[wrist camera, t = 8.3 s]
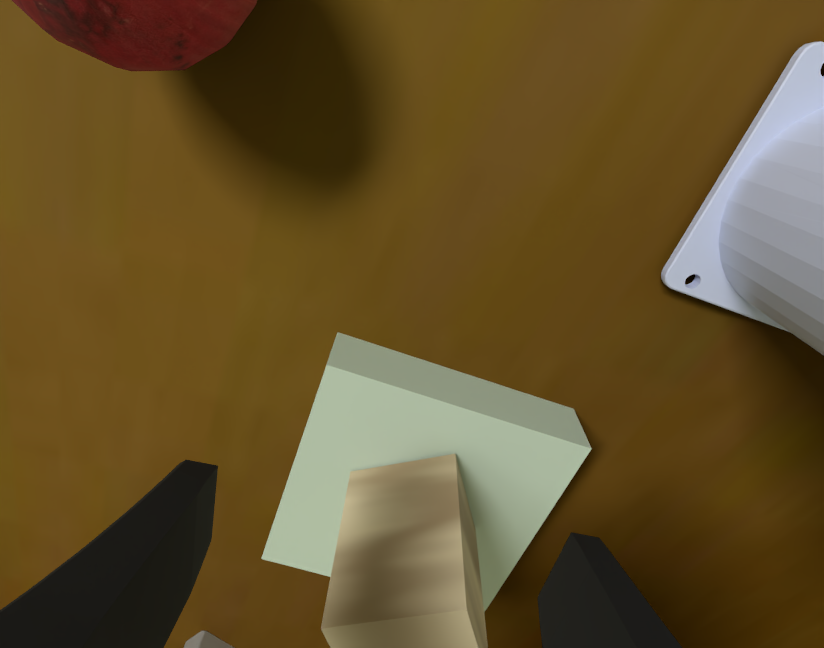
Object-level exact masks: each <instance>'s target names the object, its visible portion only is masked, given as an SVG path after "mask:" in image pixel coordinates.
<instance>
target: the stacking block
mask: <svg viewBox="0 0 824 648" xmlns="http://www.w3.org/2000/svg"><path fill="white" fill-rule="evenodd" d="M591 449H592V448H591V446H590V444H589V442H588V439H587V437H586V435H585V433H584V431H583V428H582V426H581V424H580V422H579V420H578V417H577V415H576V413H575V411H574V409H572V408H569V407H566V406H563V405H560V404H557V403H554V402H551V401H547V400H544V399H541V398H538V397H535V396H532V395H529V394H526V393H523V392H520V391H517V390H514V389H511V388H508V387H504V386H501V385H498V384H495V383H492V382H489V381H486V380H483V379H480V378H477V377H474V376H471V375H468V374H465V373H461V372H458V371H455V370H452V369H449V368H446V367H443V366H440V365H437V364H434V363H431V362H428V361H425V360H422V359H418V358H415V357H412V356H409V355H406V354H403V353H400V352H397V351H394V350H391V349H388V348H385V347H382V346H379V345H375V344H372V343H369V342H366V341H363V340H360V339H357V338H354V337H351V336H348V335H345V334H342V333H339V332H337V335H336V338H335V341H334V344H333V347H332V350H331V353H330V356H329V359H328V362H327V365H326V368H325V371H324V374H323V377H322V380H321V383H320V386H319V389H318V392H317V395H316V398H315V401H314V404H313V407H312V410H311V412H310V415H309V418H308V421H307V424H306V427H305V430H304V433H303V436H302V439H301V442H300V445H299V448H298V451H297V454H296V457H295V460H294V463H293V466H292V469H291V472H290V475H289V478H288V481H287V484H286V487H285V490H284V493H283V495H282V498H281V501H280V504H279V507H278V510H277V513H276V516H275V519H274V522H273V525H272V528H271V531H270V534H269V537H268V540H267V543H266V546H265V549H264V552H263V555H262V558H261V559H264V560H268V561H272V562H276V563H279V564H283V565H287V566H291V567H295V568H299V569H303V570H306V571H310V572H314V573H318V574H322V575H326V576H329V577H331V572H332V567H333V562H334V556H335V551H336V546H337V540H338V535H339V530H340V524H341V519H342V514H343V508H344V503H345V498H346V492H347V487H348V482H349V476H350V472H351V471H357V470H363V469H368V468H374V467H380V466H386V465H392V464H398V463H403V462H409V461H415V460H421V459H427V458H433V457H439V456H444V455H450V454H456V458H457V462H458V465H459V469H460V473H461V477H462V481H463V484H464V488H465V492H466V496H467V499H468V503H469V507H470V511H471V515H472V518H473V522H474V526H475V530H476V539H477V548H478V558H479V568H480V577H481V587H482V597H483V606H484V612H485V611H486V609H487V608H488V606H489V605H490V603H491V602H492V600H493V599H494V597H495V595H496V594H497V592H498V591H499V589H500V588H501V586H502V585H503V583H504V582H505V580H506V579H507V577H508V576H509V574H510V573H511V571H512V570H513V568H514V566H515V565H516V563H517V562H518V560H519V559H520V557H521V556H522V554H523V553H524V551H525V550H526V548H527V547H528V545H529V544H530V542H531V541H532V539H533V538H534V536H535V534H536V533H537V531H538V530H539V528H540V527H541V525H542V524H543V522H544V521H545V519H546V518H547V516H548V515H549V513H550V512H551V510H552V509H553V507H554V505H555V504H556V502H557V501H558V499H559V498H560V496H561V495H562V493H563V492H564V490H565V489H566V487H567V486H568V484H569V483H570V481H571V480H572V478H573V477H574V475H575V473H576V472H577V470H578V469H579V467H580V466H581V464H582V463H583V461H584V460H585V458H586V457H587V455H588V454H589V452H590V451H591Z"/></svg>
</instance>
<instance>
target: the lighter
mask: <svg viewBox="0 0 824 648" xmlns="http://www.w3.org/2000/svg"><path fill="white" fill-rule="evenodd" d="M184 648H234V647H232V646H230V645H229V644H227V643H225V642H224V641H222V640H220V639H219V638H217V637H215V636H214V635H212V634H210V633H209V632H207V631H201V632H199V633H198V634H196V635H195V636H194V637H192V638H191V639H189V640H188V641H186V643H185V646H184Z"/></svg>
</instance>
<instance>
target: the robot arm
mask: <svg viewBox="0 0 824 648" xmlns="http://www.w3.org/2000/svg"><path fill="white" fill-rule="evenodd" d="M823 63H824V42H811V43H807V44H805V45H803V46H802V47H800V48H799V49H798V50H797V51H796V52H795V53H794V55H793V56H792V58H791V59H790V61H789V63H788V64H787V66H786V68H785V69H784V71H783V73H782V74H781V76H780V78H779V79H778V81H777V82H776V84H775V86H774V87H773V89H772V91H771V92H770V94H769V96H768V97H767V99H766V101H765V102H764V104H763V105H762V107H761V109H760V110H759V112H758V114H757V115H756V117H755V119H754V120H753V122H752V123H751V125H750V127H749V128H748V130H747V132H746V133H745V135H744V137H743V138H742V140H741V142H740V143H739V145H738V146H737V148H736V150H735V151H734V153H733V155H732V156H731V158H730V160H729V161H728V163H727V165H726V166H725V168H724V169H723V171H722V173H721V174H720V176H719V178H718V179H717V181H716V183H715V184H714V186H713V188H712V189H711V191H710V192H709V194H708V196H707V197H706V199H705V201H704V202H703V204H702V206H701V207H700V209H699V211H698V212H697V214H696V215H695V217H694V219H693V220H692V222H691V224H690V225H689V227H688V229H687V230H686V232H685V233H684V235H683V237H682V238H681V240H680V242H679V243H678V245H677V247H676V248H675V250H674V252H673V253H672V255H671V256H670V258H669V260H668V261H667V263H666V265H665V266H664V268H663V270H662V273H661V279H662V281H663V283H664V284H665V285H667V286H668V287H669V288H671V289H673V290H676V291H679V292H681V293H684V294H687V295H689V296H692V297H695V298H698V299H700V300H703V301H706V302H709V303H711V304H714V305H717V306H720V307H722V308H725V309H728V310H730V311H733V312H736V313H739V314H741V315H744V316H747V317H750V318H752V319H755V320H758V321H761V322H763V323H766V324H769V325H771V326H774V327H777V328H780V329H782V330H785V331H788V332H791V333H792V334H794V335H795V336H796V337H798V338H799V339H801V340H802V341H804V342H805V343H806V344H808V345H809V346H811V347H812V348H813V349H815V350H816V351H818V352H819V353H821V354H822V355H823V356H824V76H822V75H821V71H820V69H821V67H822V64H823ZM693 274H695V279H694V280H693V281H692V282H691V283H689V284H685V280H686V278H687V277H688V276H690V275H693ZM217 469H218V466H216V465H211V464H206V463H201V462H195V461H190V460H185V461H183V462H181V463H180V464H179V465H178V466H176V467H175V468H174V469H173V470H172V471H171V472H170V473H169V474H168V475H167V476H166V477H165V478H164V479H163V480H162V481H161V482H159V483H158V484H157V485H156V486H155V487H154V488H153V489H152V490H151V491H150V492H148V493H147V494H146V495H145V496H144V497H143V498H142V499H141V500H140V501H138V502H137V503H136V504H135V505H134V506H133V507H132V508H130V509H129V510H128V511H127V512H126V513H125V514H124V515H122V516H121V517H120V518H119V519H118V520H116V521H115V522H114V523H113V524H112V525H110V526H109V527H108V528H107V529H106V530H104V531H103V532H102V533H101V534H100V535H98V536H97V537H96V538H95V539H94V540H92V541H91V542H90V543H89V544H88V545H86V546H85V547H84V548H83V549H81V550H80V551H79V552H78V553H76V554H75V555H74V556H72V557H71V558H70V559H68V560H67V561H66V562H65V563H63V564H62V565H61V566H59V567H58V568H57V569H55V570H54V571H53V572H51V573H50V574H49V575H48V576H46V577H45V578H44V579H42V580H41V581H40V582H38V583H37V584H36V585H35V586H33V587H32V588H30V589H29V590H28V591H26V592H25V593H24V594H22V595H21V596H19V597H18V598H17V599H15V600H14V601H13V602H11V603H10V604H8V605H7V606H6V607H4V608H3V609H1V610H0V648H164V646H165V644H166V642H167V640H168V638H169V636H170V634H171V632H172V630H173V628H174V626H175V624H176V622H177V620H178V618H179V616H180V614H181V612H182V610H183V608H184V606H185V604H186V602H187V600H188V598H189V596H190V594H191V591H192V589H193V586H194V584H195V581H196V579H197V576H198V574H199V571H200V568H201V566H202V563H203V560H204V558H205V555H206V553H207V550H208V547H209V545H210V542H211V538H212V527H213V515H214V504H215V492H216V481H217ZM538 607H539V618H540V629H541V637H542V646H543V648H682V647H681V645H680V644H679V643H678V642H677V640H676V639H675V638H674V636H673V635H672V634H671V632H670V631H669V630H668V629H667V627H666V626H665V625H664V623H663V622H662V621H661V619H660V618H659V617H658V615H657V614H656V613H655V611H654V610H653V609H652V607H651V606H650V605H649V603H648V602H647V601H646V599H645V598H644V597H643V595H642V594H641V593H640V591H639V590H638V589H637V587H636V586H635V585H634V583H633V582H632V580H631V579H630V578H629V576H628V575H627V574H626V572H625V571H624V570H623V568H622V567H621V566H620V564H619V563H618V562H617V560H616V559H615V558H614V556H613V555H612V554H611V552H610V551H609V550H608V548H607V547H606V546H605V544H604V543H603V542H602V541H601V539H600V538H597V537H592V536H587V535H581V534H576V533H571V534H570V536H569V538H568V540H567V542H566V543H565V545H564V547H563V549H562V551H561V553H560V555H559V557H558V559H557V561H556V563H555V565H554V567H553V569H552V571H551V572H550V574H549V576H548V578H547V580H546V582H545V584H544V586H543V588H542V590H541V592H540V594H539V596H538Z"/></svg>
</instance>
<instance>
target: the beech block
mask: <svg viewBox="0 0 824 648" xmlns="http://www.w3.org/2000/svg"><path fill="white" fill-rule="evenodd" d="M321 630H322V632H323V634H324V636H325V638H326V639H327V641H328V643H329V645H330V647H331V648H488V645H487V635H486V625H485V616H484V606H483V597H482V587H481V577H480V568H479V558H478V548H477V539H476V530H475V526H474V522H473V518H472V515H471V511H470V507H469V503H468V499H467V496H466V492H465V488H464V484H463V481H462V477H461V473H460V469H459V465H458V462H457V458H456V454H450V455H444V456H439V457H433V458H427V459H421V460H415V461H409V462H403V463H398V464H392V465H386V466H380V467H374V468H368V469H363V470H357V471H351V472H350V476H349V482H348V487H347V492H346V498H345V503H344V508H343V514H342V519H341V524H340V530H339V535H338V540H337V546H336V551H335V556H334V562H333V567H332V572H331V578H330V583H329V588H328V594H327V599H326V604H325V610H324V615H323V620H322V626H321Z"/></svg>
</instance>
